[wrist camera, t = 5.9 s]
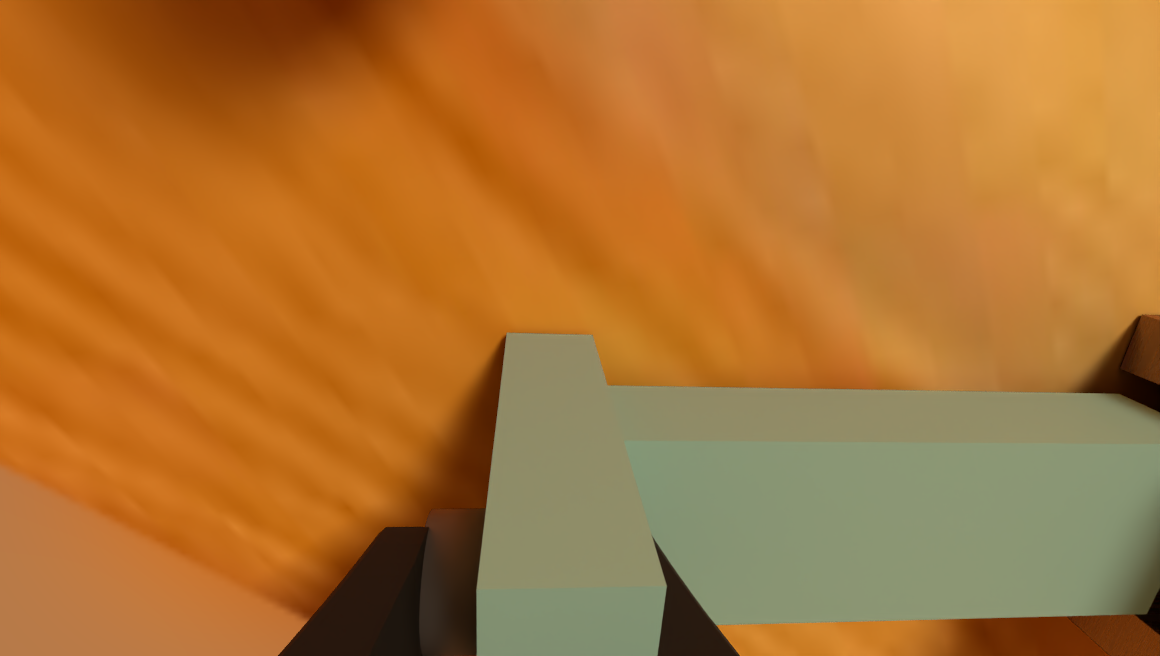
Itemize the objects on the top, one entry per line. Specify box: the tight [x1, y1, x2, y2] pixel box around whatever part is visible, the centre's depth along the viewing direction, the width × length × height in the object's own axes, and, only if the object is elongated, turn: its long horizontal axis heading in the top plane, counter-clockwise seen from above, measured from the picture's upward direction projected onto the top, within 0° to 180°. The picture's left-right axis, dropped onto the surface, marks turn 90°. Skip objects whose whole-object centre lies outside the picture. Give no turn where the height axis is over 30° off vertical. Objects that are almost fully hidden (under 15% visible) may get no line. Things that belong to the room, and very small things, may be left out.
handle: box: [419, 333, 1160, 656], centre depth 9 cm, size 14×6×6 cm, turn 87°
